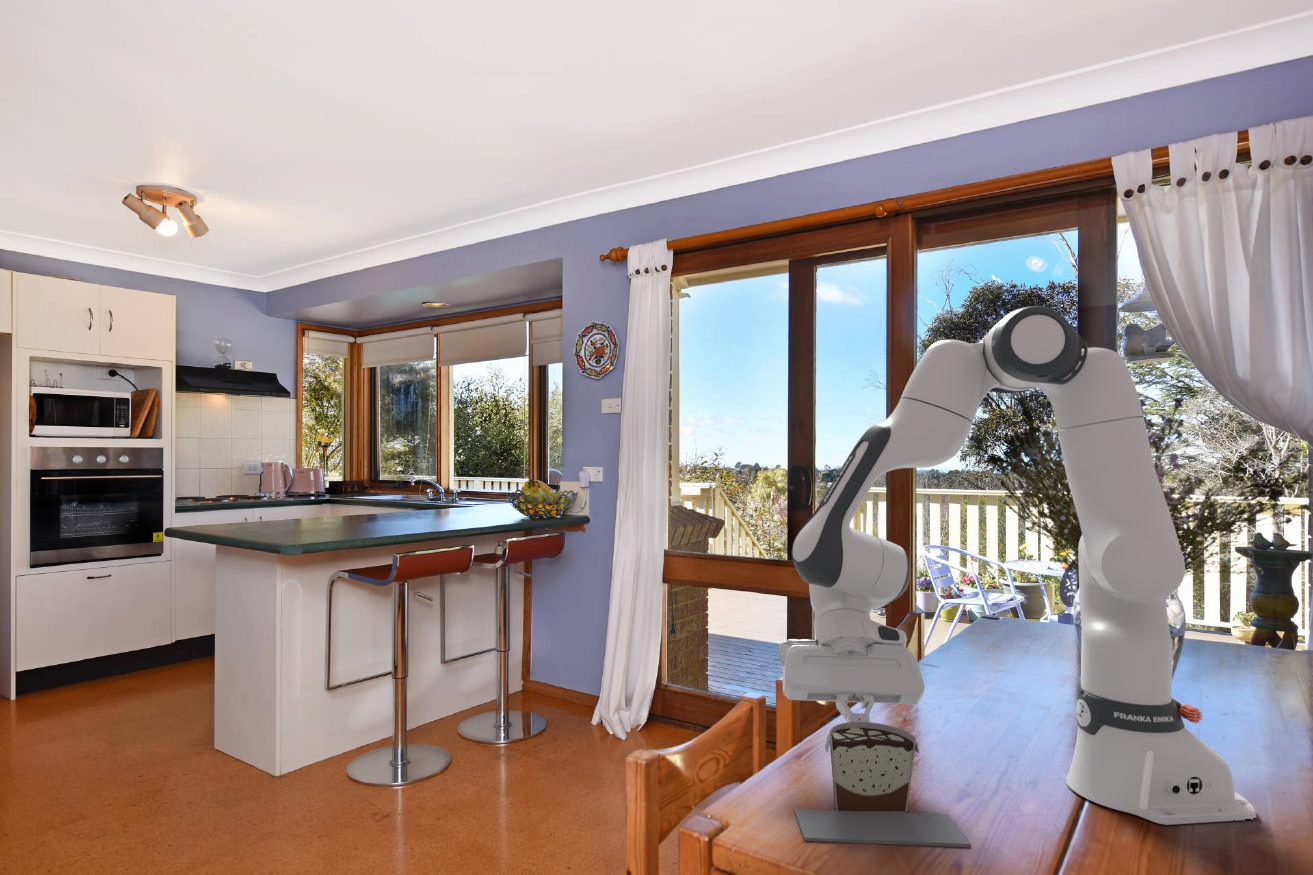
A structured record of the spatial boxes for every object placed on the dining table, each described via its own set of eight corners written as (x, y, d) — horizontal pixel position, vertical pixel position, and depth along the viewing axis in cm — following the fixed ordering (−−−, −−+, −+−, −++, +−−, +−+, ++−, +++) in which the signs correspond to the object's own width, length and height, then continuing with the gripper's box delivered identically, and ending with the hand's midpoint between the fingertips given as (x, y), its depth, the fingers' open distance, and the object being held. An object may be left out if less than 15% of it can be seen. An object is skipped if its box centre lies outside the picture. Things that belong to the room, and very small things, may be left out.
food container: (901, 793, 107) (903, 720, 107) (918, 814, 101) (919, 737, 101) (813, 791, 106) (815, 719, 107) (825, 812, 100) (826, 735, 100)
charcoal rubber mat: (948, 817, 100) (948, 814, 100) (970, 847, 92) (970, 843, 92) (794, 811, 100) (794, 808, 100) (804, 840, 93) (804, 837, 93)
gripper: (779, 627, 116) (787, 714, 106) (916, 632, 115) (937, 720, 105) (774, 649, 120) (782, 735, 110) (906, 654, 120) (925, 740, 110)
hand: (859, 728), depth 108 cm, fingers closed
